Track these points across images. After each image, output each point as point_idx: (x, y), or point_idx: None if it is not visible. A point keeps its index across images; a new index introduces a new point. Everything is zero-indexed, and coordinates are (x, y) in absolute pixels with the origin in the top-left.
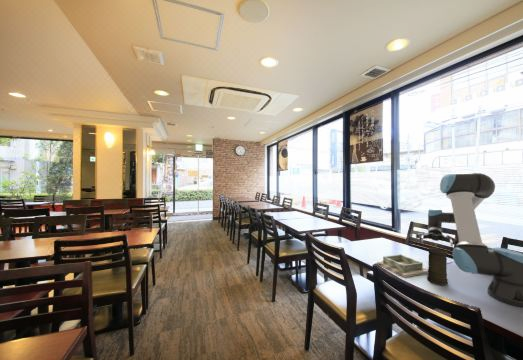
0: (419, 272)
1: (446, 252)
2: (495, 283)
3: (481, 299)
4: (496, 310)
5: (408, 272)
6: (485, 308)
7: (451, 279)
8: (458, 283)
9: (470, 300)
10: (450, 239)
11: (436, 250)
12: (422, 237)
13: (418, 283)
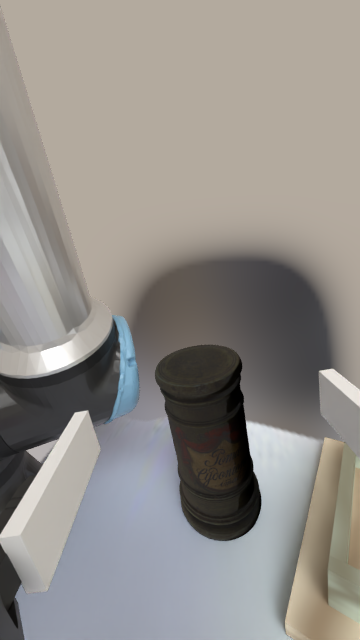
0: (307, 518)
1: (160, 361)
2: (32, 464)
3: (107, 457)
4: (99, 426)
5: (335, 471)
6: (119, 419)
7: (160, 602)
8: (137, 557)
9: (138, 433)
10: (27, 512)
11: (200, 354)
12: (334, 378)
13: (266, 434)
